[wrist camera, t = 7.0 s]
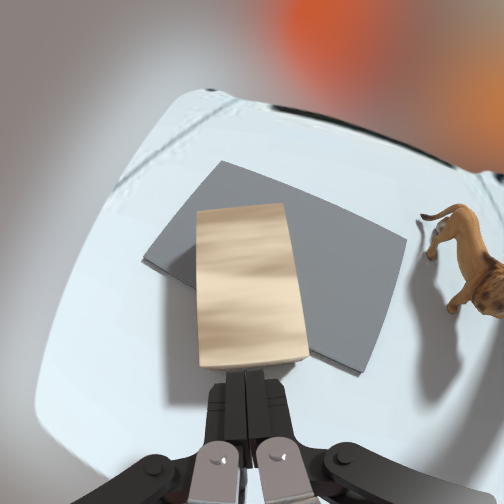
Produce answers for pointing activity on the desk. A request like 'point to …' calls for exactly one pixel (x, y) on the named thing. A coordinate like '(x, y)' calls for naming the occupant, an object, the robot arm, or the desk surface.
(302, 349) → the birch block
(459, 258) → the lion figurine
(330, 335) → the slate mat
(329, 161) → the desk surface
